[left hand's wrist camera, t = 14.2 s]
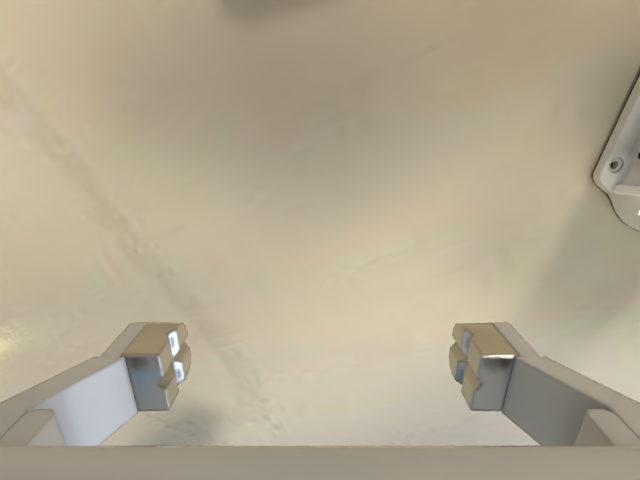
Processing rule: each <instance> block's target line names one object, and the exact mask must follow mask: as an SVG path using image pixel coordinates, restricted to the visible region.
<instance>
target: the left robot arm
mask: <svg viewBox="0 0 640 480" xmlns="http://www.w3.org/2000/svg"><path fill="white" fill-rule="evenodd" d="M612 162H613V165H612V166H611V167H610V165H611V163H612ZM593 180H594V182H595V184H596V185H597V186H598V187H599V188H601V189H602V190H603V191H604V192H606V193H607V194H608V195H609V197H610V199H611V202H612V204H613V207H614V209H615V211H616V213H617V215H618V216H619V218H620V219H621V220H622V221H623V222H624V223H625V224H627V225H628V226H630V227H631V228H633V229H635V230H638V231H640V76H639V78H638V80H637V82H636V84H635V86H634V88H633V90H632V92H631V95H630V97H629V99H628V101H627V103H626V105H625V107H624V109H623V111H622V114H621V116H620V118H619V120H618V122H617V124H616V126H615V128H614V130H613V133H612V135H611V137H610V139H609V141H608V143H607V145H606V147H605V149H604V152H603V154H602V156H601V158H600V160H599V162H598V164H597V166H596V168H595V171H594V173H593ZM187 336H188V334H187V329H186V325H185V324H183V323H157V322H151V323H149V322H134V323H131V324H129V325H128V326H127V328H126V329H125V330H124V331H123V332H122V333H121V334H120V335H119V336H118V337H117V338H116V340H115V341H114V342H113V343H112V344H111V345H110V346H109V347H108V348H107V349H106V350H105V352H104V353H103V354H102V355H101V356H100V357H93V358H91V359H89V360H87V361H85V362H83V363H81V364H79V365H77V366H75V367H72V368H70V369H68V370H66V371H64V372H62V373H60V374H58V375H56V376H54V377H52V378H50V379H48V380H46V381H44V382H42V383H40V384H38V385H36V386H34V387H32V388H30V389H28V390H26V391H24V392H22V393H20V394H17V395H15V396H13V397H11V398H9V399H7V400H5V401H3V402H1V403H0V480H640V403H639V402H637V401H635V400H632V399H630V398H628V397H626V396H624V395H622V394H620V393H618V392H616V391H614V390H612V389H610V388H608V387H606V386H604V385H602V384H600V383H598V382H596V381H594V380H592V379H590V378H588V377H586V376H584V375H582V374H580V373H578V372H576V371H574V370H572V369H569V368H567V367H565V366H563V365H561V364H559V363H557V362H555V361H553V360H551V359H549V358H547V357H540V356H539V355H538V354H537V353H536V352H535V350H534V349H533V348H532V347H531V346H530V345H529V344H528V343H527V342H526V341H525V340H524V338H523V337H522V336H521V335H520V334H519V333H518V332H517V331H516V330H515V329H514V328H513V326H512V325H511V324H509V323H507V322H493V323H457V324H455V326H454V328H453V333H452V336H453V337H454V339H455V341H456V342H455V343H454V344H453V345H452V346H451V347H450V353H449V362H450V368H451V372H452V374H453V377H454V379H455V380H456V381H457V382H459V383H460V384H462V390H461V392H462V394H463V396H464V398H465V400H466V402H467V404H468V406H469V408H470V410H474V411H502V413H503V414H504V415H505V416H506V417H508V418H509V419H510V420H511V421H512V422H514V423H515V424H516V425H517V426H518V427H520V428H521V429H522V430H523V431H524V432H526V433H527V434H528V435H529V436H530V437H532V438H533V439H534V440H535V441H536V442H538V443H539V444H540V445H541V446H99V445H100V444H101V443H102V442H104V441H105V440H106V439H107V438H108V437H110V436H111V435H112V434H113V433H115V432H116V431H117V430H118V429H119V428H121V427H122V426H123V425H124V424H125V423H127V422H128V421H129V420H130V419H131V418H133V417H134V416H135V415H136V414H137V413H138V411H165V410H170V408H171V406H172V404H173V402H174V400H175V398H176V396H177V394H178V392H179V390H178V384H180V383H181V382H183V381H184V380H185V379H186V376H187V374H188V372H189V368H190V363H191V352H190V347H189V346H188V345H187V344H186V343H185V342H184V341H185V339H186V337H187Z"/></svg>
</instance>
